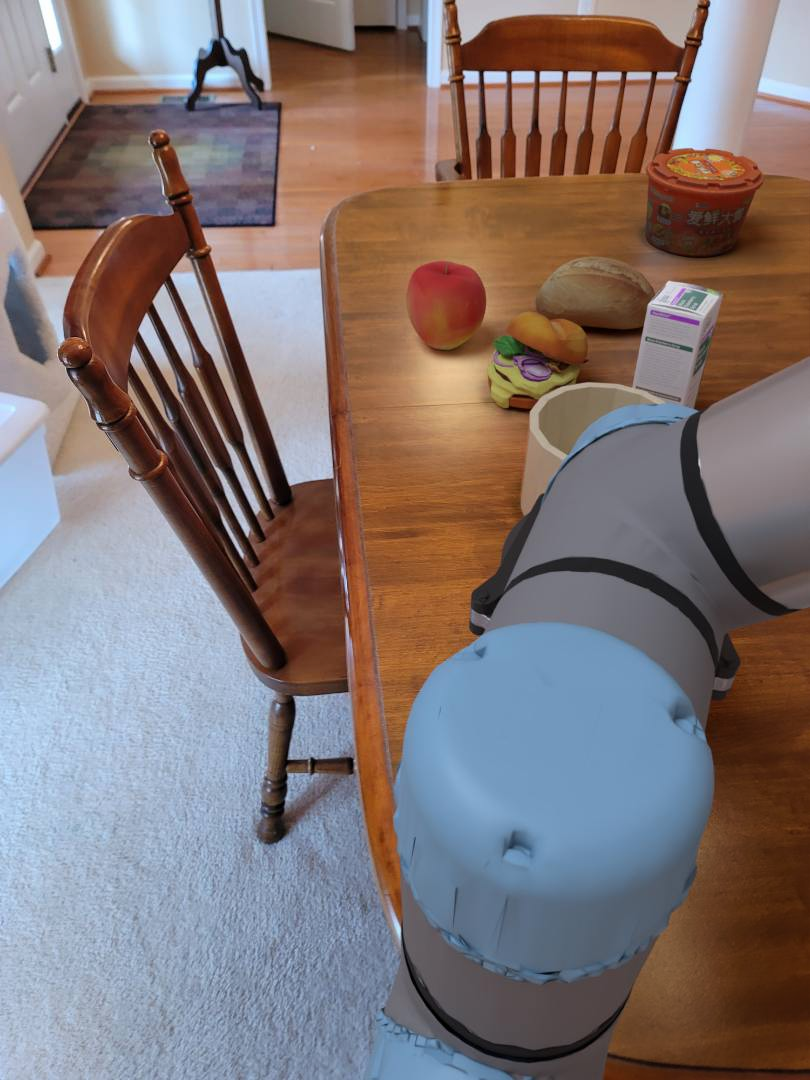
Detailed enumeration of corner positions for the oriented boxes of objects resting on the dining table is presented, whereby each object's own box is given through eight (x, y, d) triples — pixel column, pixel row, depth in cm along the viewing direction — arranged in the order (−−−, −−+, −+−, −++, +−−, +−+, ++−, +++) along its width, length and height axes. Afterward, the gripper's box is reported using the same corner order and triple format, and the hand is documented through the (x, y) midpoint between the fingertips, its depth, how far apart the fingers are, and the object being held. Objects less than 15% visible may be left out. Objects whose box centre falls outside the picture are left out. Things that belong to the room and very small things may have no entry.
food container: (613, 228, 127) (625, 154, 120) (699, 212, 132) (716, 140, 124) (677, 271, 116) (695, 193, 109) (768, 251, 121) (791, 175, 113)
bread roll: (654, 347, 101) (668, 285, 96) (531, 336, 103) (537, 275, 98) (652, 310, 108) (665, 250, 103) (536, 300, 110) (542, 241, 105)
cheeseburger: (461, 387, 94) (481, 301, 89) (526, 377, 101) (548, 296, 95) (523, 427, 88) (549, 337, 83) (588, 413, 95) (616, 329, 89)
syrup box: (675, 443, 87) (710, 316, 77) (621, 426, 89) (648, 300, 79) (692, 416, 90) (727, 291, 80) (640, 401, 93) (667, 277, 83)
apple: (477, 368, 98) (482, 288, 91) (397, 360, 99) (397, 280, 92) (487, 328, 105) (493, 251, 98) (413, 321, 106) (413, 244, 99)
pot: (694, 513, 79) (720, 431, 72) (598, 577, 72) (616, 494, 66) (586, 446, 86) (601, 366, 80) (490, 499, 80) (498, 418, 74)
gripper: (395, 752, 41) (517, 474, 57) (733, 861, 37) (762, 528, 53) (393, 655, 36) (527, 379, 52) (785, 769, 32) (800, 431, 48)
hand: (646, 455), depth 53 cm, fingers closed on lid, 3 cm apart
